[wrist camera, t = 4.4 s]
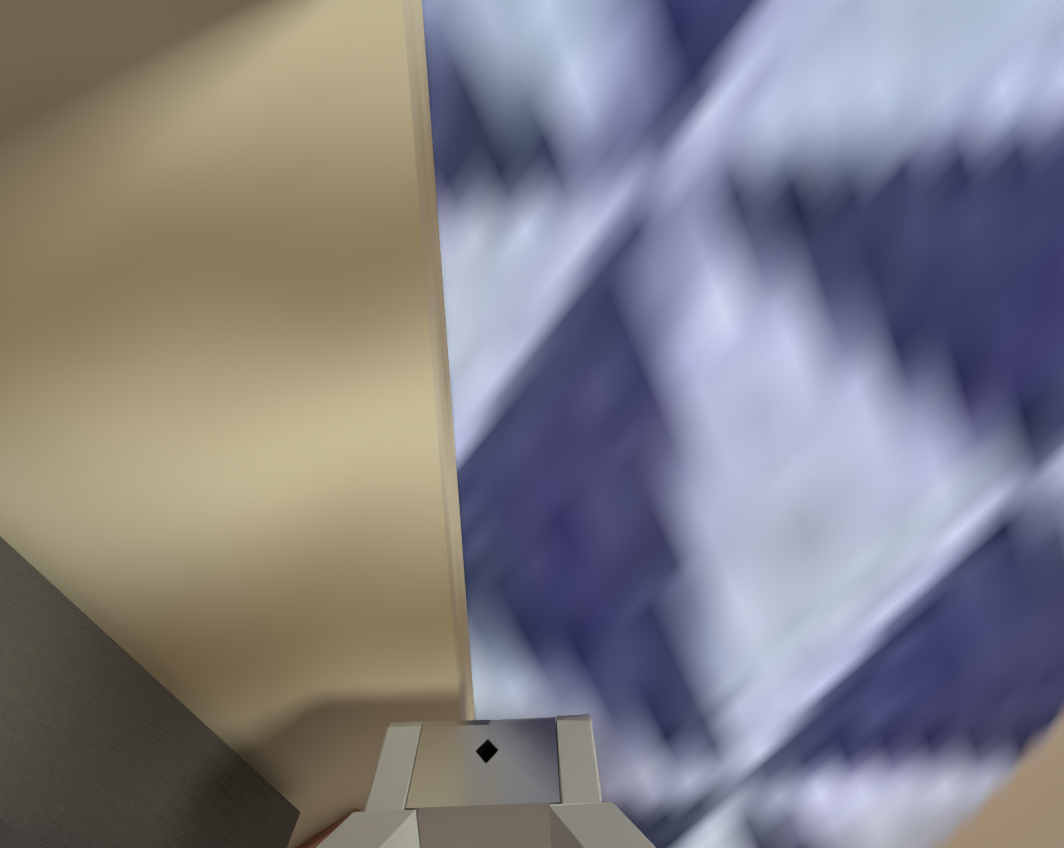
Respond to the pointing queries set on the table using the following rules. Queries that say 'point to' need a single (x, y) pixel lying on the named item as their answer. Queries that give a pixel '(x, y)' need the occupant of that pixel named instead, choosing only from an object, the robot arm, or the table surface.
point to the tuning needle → (109, 742)
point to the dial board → (237, 366)
